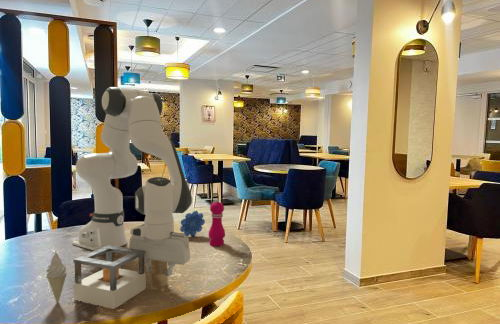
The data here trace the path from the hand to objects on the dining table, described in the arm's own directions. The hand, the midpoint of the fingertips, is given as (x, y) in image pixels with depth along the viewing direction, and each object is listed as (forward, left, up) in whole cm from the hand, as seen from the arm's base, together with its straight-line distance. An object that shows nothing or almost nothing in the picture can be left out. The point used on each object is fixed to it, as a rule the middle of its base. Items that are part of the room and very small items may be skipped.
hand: (159, 273), depth 114 cm
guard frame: (-10, -10, +1) cm, 14 cm away
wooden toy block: (0, 0, -4) cm, 4 cm away
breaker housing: (-10, -10, -4) cm, 15 cm away
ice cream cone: (-20, -20, -4) cm, 29 cm away
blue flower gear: (-18, +53, -4) cm, 56 cm away
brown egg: (-10, -10, -1) cm, 14 cm away
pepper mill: (-2, +46, -4) cm, 46 cm away
